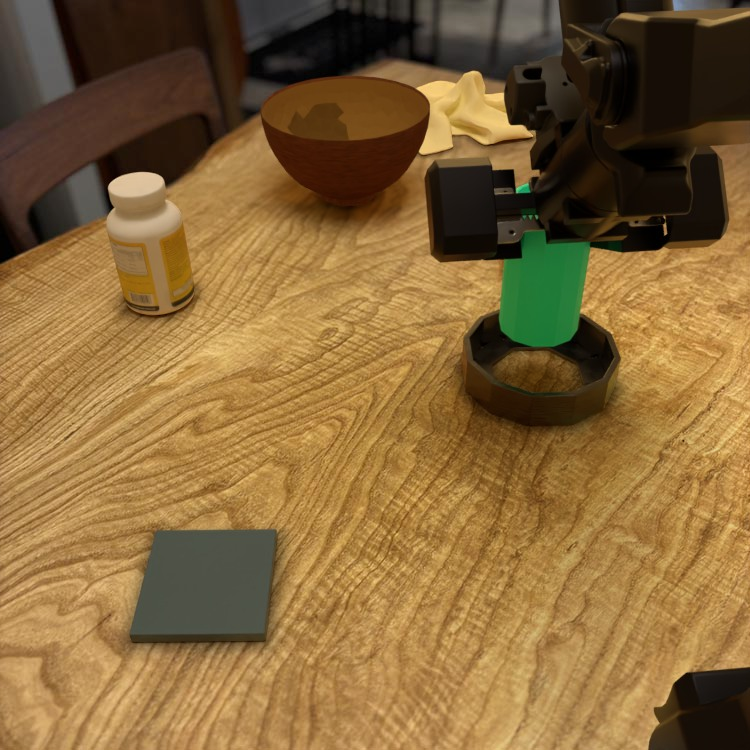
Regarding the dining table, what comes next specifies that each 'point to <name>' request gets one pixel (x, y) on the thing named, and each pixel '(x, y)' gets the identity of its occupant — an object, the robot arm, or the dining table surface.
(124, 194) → the pill bottle
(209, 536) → the coaster
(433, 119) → the cloth
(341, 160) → the bowl
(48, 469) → the dining table surface
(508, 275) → the candle
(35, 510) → the dining table surface
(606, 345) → the pan
